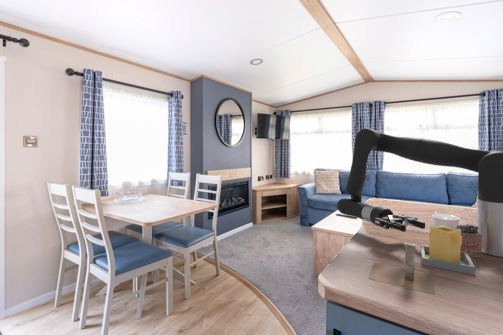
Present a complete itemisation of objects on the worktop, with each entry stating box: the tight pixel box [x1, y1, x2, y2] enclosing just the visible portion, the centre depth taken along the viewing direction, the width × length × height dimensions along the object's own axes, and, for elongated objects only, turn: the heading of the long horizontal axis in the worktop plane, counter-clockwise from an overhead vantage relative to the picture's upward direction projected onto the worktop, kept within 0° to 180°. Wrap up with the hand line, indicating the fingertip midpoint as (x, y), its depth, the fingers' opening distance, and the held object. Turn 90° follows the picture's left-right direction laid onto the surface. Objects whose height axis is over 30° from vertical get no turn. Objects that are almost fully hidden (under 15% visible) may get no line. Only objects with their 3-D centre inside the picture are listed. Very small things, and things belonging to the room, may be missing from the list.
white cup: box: [431, 213, 461, 230], centre depth 89 cm, size 8×8×10 cm
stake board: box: [368, 242, 436, 295], centre depth 65 cm, size 14×11×10 cm
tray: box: [419, 244, 476, 276], centre depth 73 cm, size 12×12×3 cm
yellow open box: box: [428, 226, 462, 263], centre depth 72 cm, size 7×5×10 cm
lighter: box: [457, 223, 483, 258], centre depth 79 cm, size 8×3×10 cm, turn 84°
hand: (415, 227), depth 82 cm, fingers open, 8 cm apart
